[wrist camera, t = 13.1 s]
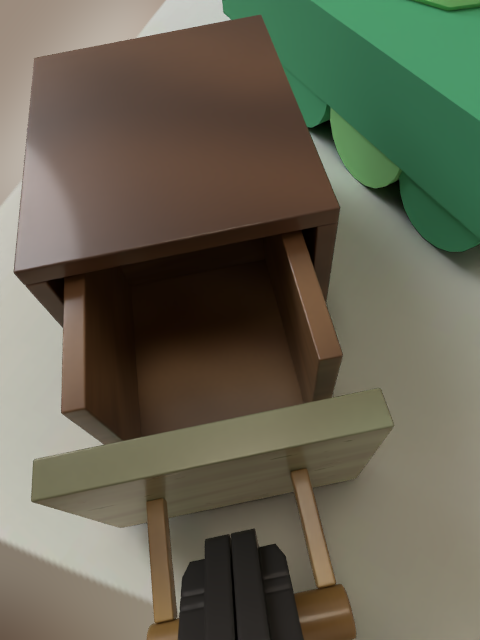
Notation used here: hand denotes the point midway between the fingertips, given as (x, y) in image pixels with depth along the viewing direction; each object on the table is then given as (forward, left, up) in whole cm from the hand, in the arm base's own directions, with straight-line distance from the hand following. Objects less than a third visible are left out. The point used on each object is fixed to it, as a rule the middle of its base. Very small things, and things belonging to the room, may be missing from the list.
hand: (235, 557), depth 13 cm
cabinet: (-14, +9, -7) cm, 18 cm away
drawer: (-5, +3, -6) cm, 8 cm away
